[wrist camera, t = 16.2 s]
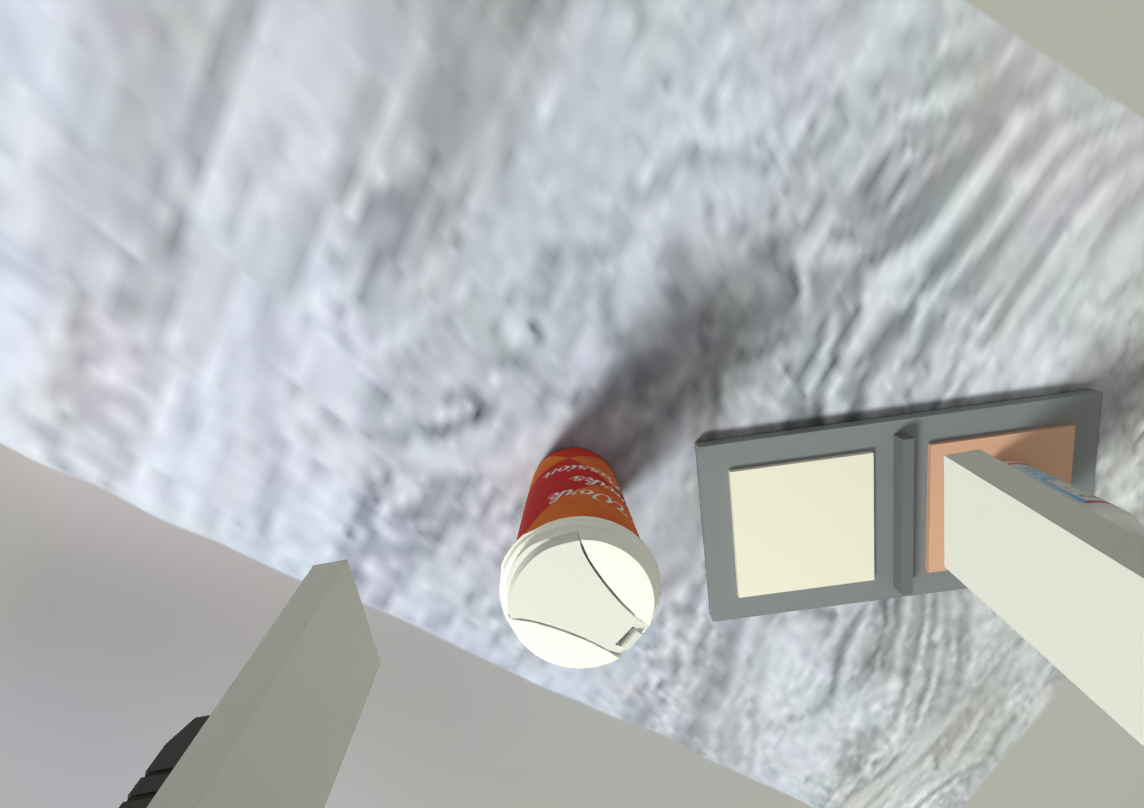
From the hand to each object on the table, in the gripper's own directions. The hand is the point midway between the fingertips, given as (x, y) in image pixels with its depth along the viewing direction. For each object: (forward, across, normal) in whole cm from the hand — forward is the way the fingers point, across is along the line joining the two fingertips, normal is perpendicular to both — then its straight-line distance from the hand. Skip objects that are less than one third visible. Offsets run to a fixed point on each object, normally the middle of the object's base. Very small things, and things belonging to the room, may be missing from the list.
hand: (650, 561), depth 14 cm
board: (+29, +20, -17) cm, 39 cm away
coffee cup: (+29, -3, -11) cm, 32 cm away
